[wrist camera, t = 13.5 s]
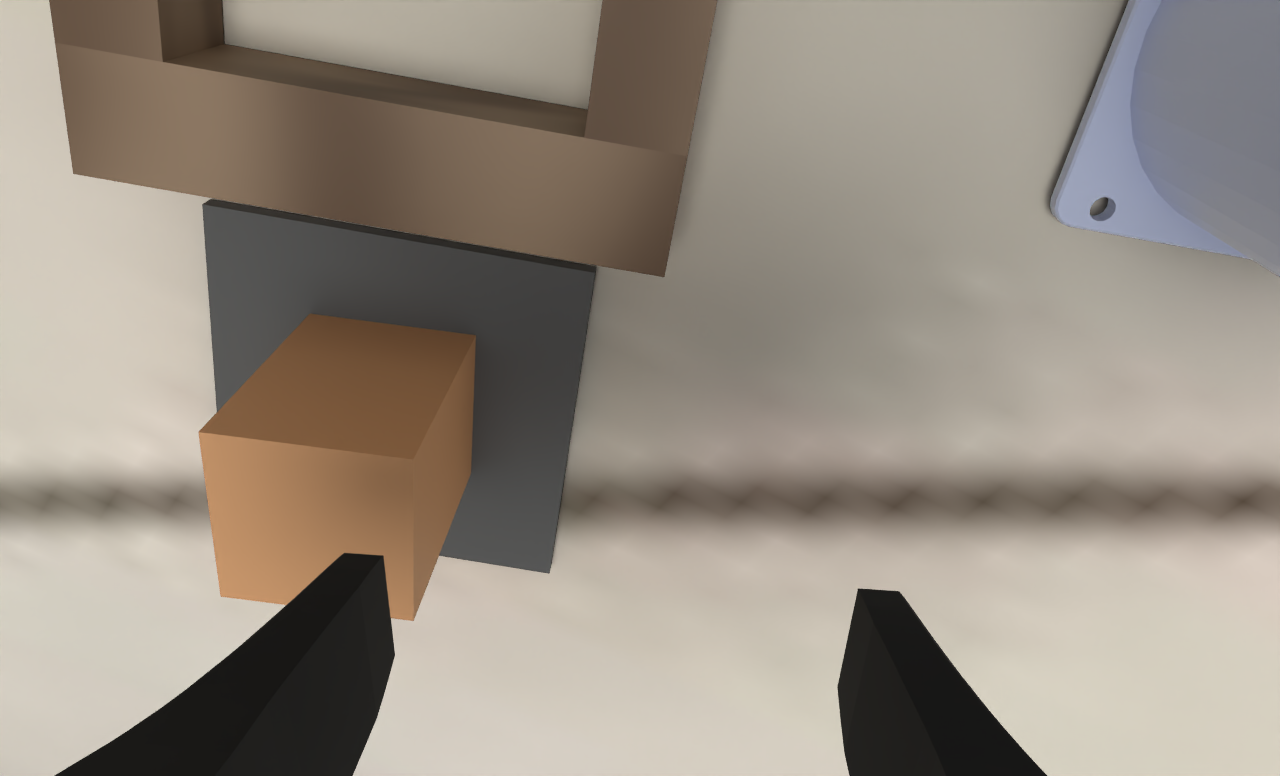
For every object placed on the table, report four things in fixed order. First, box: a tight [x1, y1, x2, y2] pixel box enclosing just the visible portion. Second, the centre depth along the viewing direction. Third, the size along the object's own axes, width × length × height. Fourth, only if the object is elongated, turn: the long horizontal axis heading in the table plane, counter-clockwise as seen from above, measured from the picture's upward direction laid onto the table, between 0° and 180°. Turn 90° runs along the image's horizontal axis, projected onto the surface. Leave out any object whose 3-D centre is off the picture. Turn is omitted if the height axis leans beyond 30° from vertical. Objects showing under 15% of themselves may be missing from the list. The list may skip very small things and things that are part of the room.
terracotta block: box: [199, 314, 476, 621], centre depth 20 cm, size 4×4×6 cm
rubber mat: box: [202, 199, 596, 573], centre depth 23 cm, size 9×9×1 cm
